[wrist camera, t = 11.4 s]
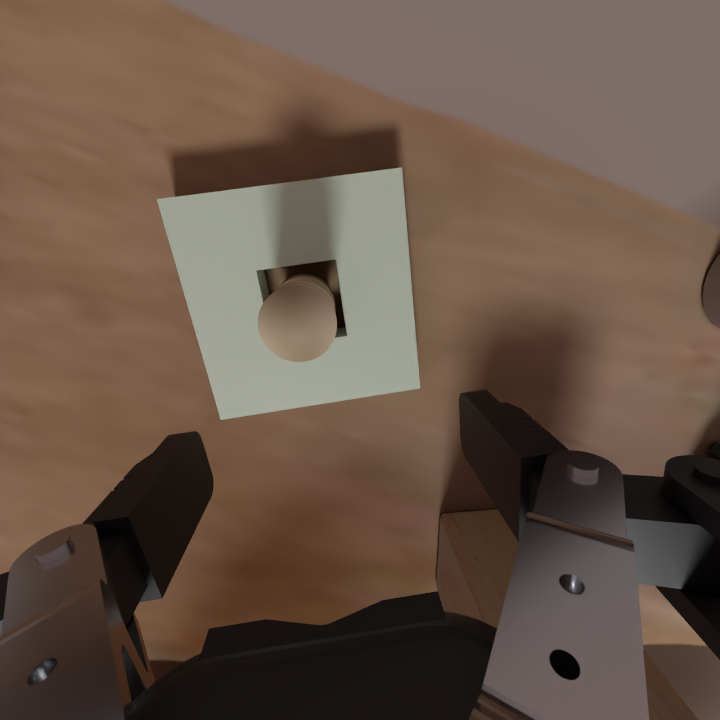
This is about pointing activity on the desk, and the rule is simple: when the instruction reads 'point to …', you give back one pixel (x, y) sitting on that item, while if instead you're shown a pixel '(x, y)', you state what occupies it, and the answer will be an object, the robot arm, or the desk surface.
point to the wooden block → (490, 583)
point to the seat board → (293, 247)
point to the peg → (299, 319)
